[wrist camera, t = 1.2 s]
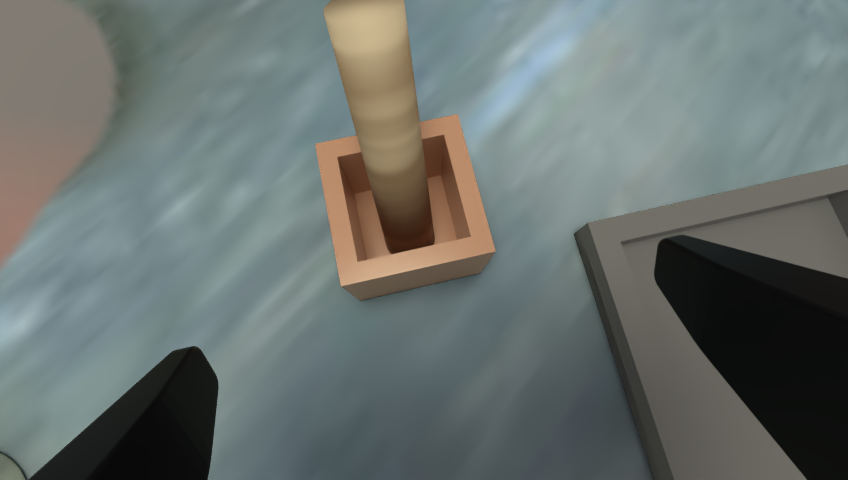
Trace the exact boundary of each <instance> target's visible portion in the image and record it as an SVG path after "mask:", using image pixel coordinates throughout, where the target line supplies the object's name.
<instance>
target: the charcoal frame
mask: <svg viewBox="0 0 848 480" xmlns="http://www.w3.org/2000/svg"><path fill="white" fill-rule="evenodd" d="M675 235H687V236H691V237H695V238H698V239H702V240H706V241H710V242H713V243H717V244H721V245H725V246H728V247H732V248H736V249H739V250H743V251H747V252H751V253H754V254H758V255H762V256H766V257H769V258H773V259H777V260H781V261H784V262H788V263H792V264H796V265H799V266H803V267H807V268H811V269H814V270H818V271H822V272H826V273H829V274H833V275H837V276H841V277H844V278H848V165H844V166H839V167H835V168H830V169H826V170H821V171H817V172H813V173H808V174H804V175H799V176H795V177H790V178H786V179H781V180H777V181H773V182H768V183H764V184H759V185H755V186H750V187H746V188H741V189H737V190H733V191H728V192H724V193H719V194H715V195H710V196H706V197H701V198H697V199H693V200H688V201H684V202H679V203H675V204H670V205H666V206H661V207H657V208H653V209H648V210H644V211H639V212H635V213H630V214H626V215H621V216H617V217H613V218H608V219H604V220H599V221H595V222H590V223H587V224H586V225H585V226H584V227H582V228H581V229H580V230H578V231H577V232H576V233H575V234H574V236H575V239H576V242H577V245H578V248H579V251H580V254H581V257H582V260H583V263H584V266H585V269H586V273H587V276H588V279H589V282H590V285H591V288H592V291H593V294H594V297H595V300H596V303H597V306H598V309H599V312H600V316H601V319H602V322H603V325H604V328H605V331H606V334H607V337H608V340H609V343H610V346H611V349H612V352H613V355H614V358H615V362H616V365H617V368H618V371H619V374H620V377H621V380H622V383H623V386H624V389H625V392H626V395H627V398H628V401H629V405H630V408H631V411H632V414H633V417H634V420H635V423H636V426H637V429H638V432H639V435H640V438H641V441H642V444H643V448H644V451H645V454H646V457H647V460H648V463H649V466H650V469H651V472H652V475H653V478H654V480H807V479H806V478H805V477H804V476H803V475H802V473H801V472H800V471H799V470H798V468H797V467H796V466H795V465H794V464H793V462H792V461H791V460H790V459H789V457H788V456H787V455H786V454H785V453H784V451H783V450H782V449H781V448H780V446H779V445H778V444H777V443H776V442H775V440H774V439H773V438H772V437H771V436H770V434H769V433H768V432H767V431H766V429H765V428H764V427H763V426H762V425H761V423H760V422H759V421H758V420H757V418H756V417H755V416H754V415H753V414H752V412H751V411H750V410H749V409H748V407H747V406H746V405H745V404H744V403H743V401H742V400H741V399H740V398H739V396H738V395H737V394H736V393H735V392H734V390H733V389H732V388H731V387H730V386H729V384H728V383H727V382H726V381H725V379H724V378H723V377H722V376H721V375H720V373H719V372H718V371H717V370H716V368H715V367H714V366H713V365H712V364H711V362H710V361H709V360H708V359H707V357H706V356H705V355H704V354H703V352H702V351H701V350H700V348H699V347H698V346H697V344H696V343H695V341H694V340H693V339H692V337H691V336H690V334H689V333H688V331H687V330H686V328H685V327H684V325H683V324H682V322H681V321H680V319H679V318H678V316H677V315H676V313H675V311H674V310H673V308H672V307H671V305H670V304H669V302H668V301H667V299H666V298H665V296H664V295H663V293H662V292H661V290H660V289H659V287H658V286H657V284H656V281H655V278H654V267H655V260H656V253H657V246H658V243H659V241H660V240H661V239H663V238H667V237H671V236H675Z"/></svg>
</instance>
